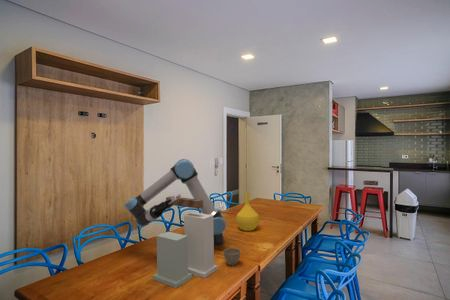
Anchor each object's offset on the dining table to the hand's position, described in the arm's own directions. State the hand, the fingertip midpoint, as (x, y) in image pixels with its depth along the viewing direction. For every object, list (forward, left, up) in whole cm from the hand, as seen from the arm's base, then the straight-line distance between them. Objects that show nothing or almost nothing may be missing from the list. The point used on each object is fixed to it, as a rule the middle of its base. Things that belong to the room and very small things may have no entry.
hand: (178, 196), depth 152 cm
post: (+12, +11, -39) cm, 42 cm away
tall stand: (-3, +14, -39) cm, 42 cm away
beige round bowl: (-21, +22, -39) cm, 50 cm away
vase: (-77, -11, -39) cm, 87 cm away
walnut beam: (-1, +4, -5) cm, 6 cm away
